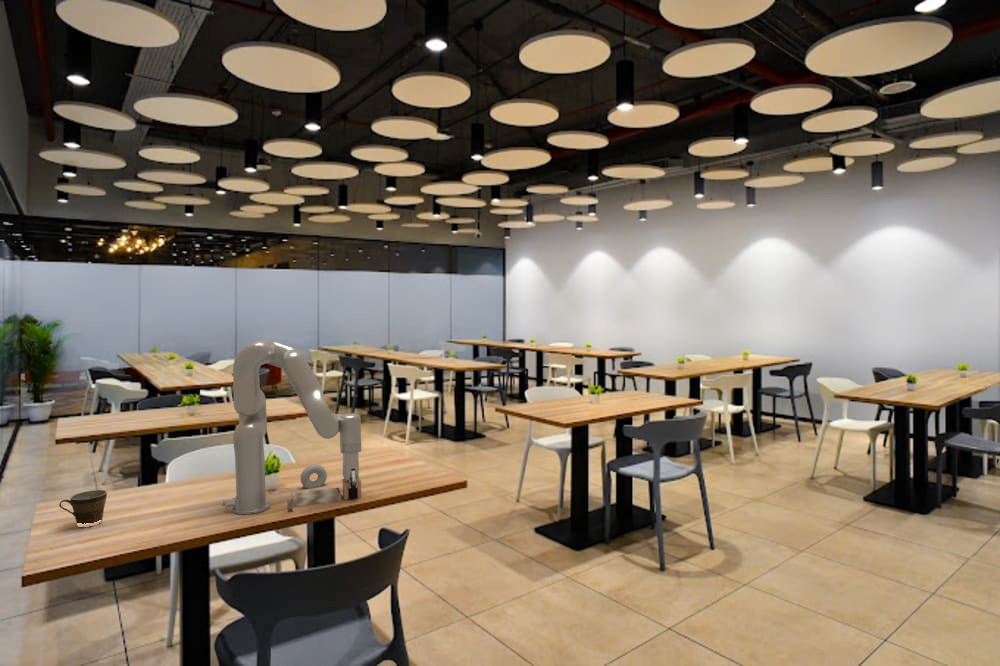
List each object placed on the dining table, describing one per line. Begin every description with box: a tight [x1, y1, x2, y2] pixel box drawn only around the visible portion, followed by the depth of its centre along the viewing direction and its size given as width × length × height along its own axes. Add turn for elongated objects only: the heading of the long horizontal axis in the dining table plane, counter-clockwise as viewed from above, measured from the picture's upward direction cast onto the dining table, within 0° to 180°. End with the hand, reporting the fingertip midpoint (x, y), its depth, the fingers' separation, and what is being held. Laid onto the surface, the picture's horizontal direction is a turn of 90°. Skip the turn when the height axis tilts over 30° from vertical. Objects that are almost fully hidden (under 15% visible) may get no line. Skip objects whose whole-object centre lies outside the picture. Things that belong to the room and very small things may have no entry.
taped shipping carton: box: [341, 477, 362, 501], centre depth 214 cm, size 6×6×6 cm
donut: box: [300, 464, 328, 489], centre depth 227 cm, size 10×4×10 cm, turn 121°
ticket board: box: [286, 487, 342, 513], centre depth 213 cm, size 36×10×4 cm, turn 111°
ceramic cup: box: [59, 489, 108, 524], centre depth 192 cm, size 13×10×10 cm
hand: (352, 495), depth 214 cm, fingers closed on taped shipping carton, 6 cm apart
